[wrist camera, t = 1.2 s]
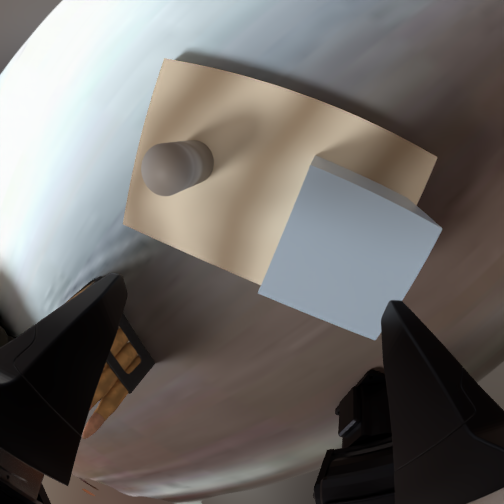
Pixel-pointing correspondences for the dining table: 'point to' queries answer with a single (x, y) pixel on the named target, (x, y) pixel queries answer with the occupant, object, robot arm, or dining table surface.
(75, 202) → the dining table surface
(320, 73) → the dining table surface
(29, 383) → the robot arm
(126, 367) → the ammunition clip
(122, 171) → the dining table surface
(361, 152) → the stub board
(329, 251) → the pale grey cube
